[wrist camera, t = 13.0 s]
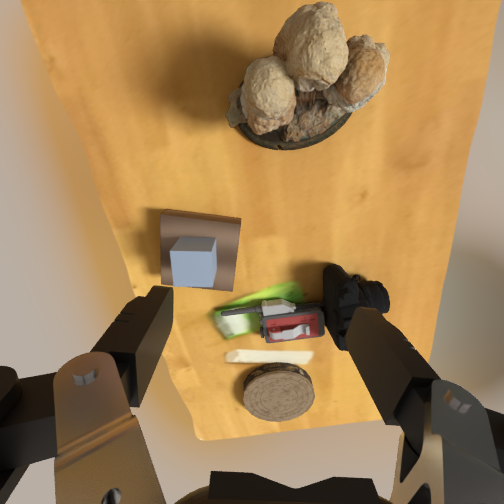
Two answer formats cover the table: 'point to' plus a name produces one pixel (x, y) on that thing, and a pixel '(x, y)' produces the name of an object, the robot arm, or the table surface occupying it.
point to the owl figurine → (307, 81)
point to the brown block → (207, 227)
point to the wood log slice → (278, 392)
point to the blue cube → (194, 262)
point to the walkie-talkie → (286, 319)
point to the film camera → (348, 300)
